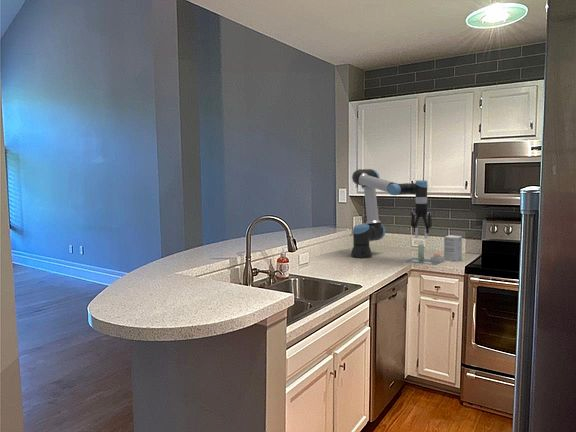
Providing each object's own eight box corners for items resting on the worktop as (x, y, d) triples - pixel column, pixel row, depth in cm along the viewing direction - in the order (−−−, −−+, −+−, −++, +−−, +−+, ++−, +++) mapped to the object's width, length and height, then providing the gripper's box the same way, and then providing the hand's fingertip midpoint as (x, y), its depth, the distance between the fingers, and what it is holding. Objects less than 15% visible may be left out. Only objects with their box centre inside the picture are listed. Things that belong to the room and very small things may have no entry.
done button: (433, 259, 282) (433, 253, 281) (435, 258, 284) (435, 252, 284) (438, 260, 279) (438, 254, 279) (440, 259, 282) (440, 253, 282)
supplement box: (448, 258, 293) (448, 235, 292) (462, 260, 288) (462, 235, 286) (443, 261, 286) (443, 236, 285) (457, 262, 280) (457, 237, 279)
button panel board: (404, 262, 285) (404, 256, 285) (414, 258, 297) (414, 252, 297) (435, 266, 270) (435, 259, 270) (445, 262, 282) (445, 256, 282)
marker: (417, 261, 283) (417, 243, 282) (419, 260, 286) (419, 243, 285) (422, 261, 281) (422, 244, 280) (424, 261, 283) (424, 243, 282)
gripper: (405, 203, 284) (405, 237, 285) (432, 203, 271) (432, 239, 273) (410, 202, 289) (410, 236, 291) (437, 203, 276) (437, 238, 278)
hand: (421, 237), depth 282 cm, fingers open, 6 cm apart
